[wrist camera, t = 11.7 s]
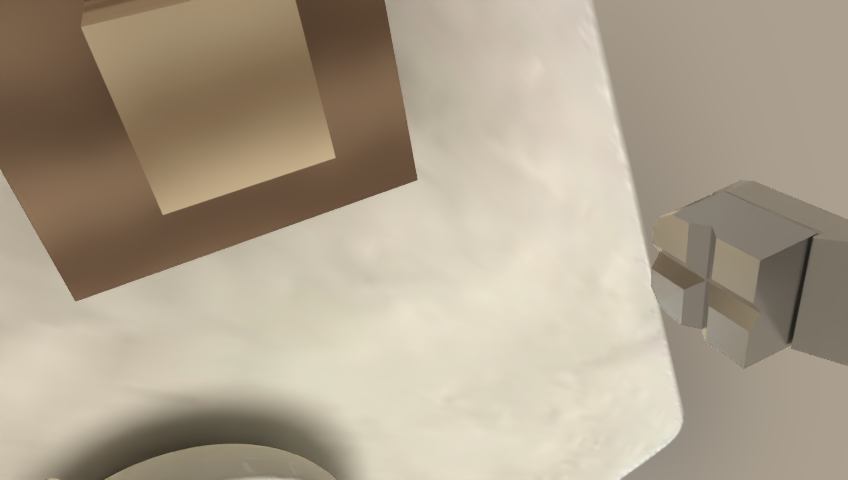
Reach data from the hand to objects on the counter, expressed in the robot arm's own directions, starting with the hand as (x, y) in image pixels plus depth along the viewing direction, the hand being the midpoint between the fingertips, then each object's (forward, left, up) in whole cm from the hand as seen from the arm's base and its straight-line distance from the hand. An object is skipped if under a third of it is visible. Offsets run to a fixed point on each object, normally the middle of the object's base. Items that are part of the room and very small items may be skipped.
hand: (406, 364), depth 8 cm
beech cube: (0, 0, -20) cm, 20 cm away
